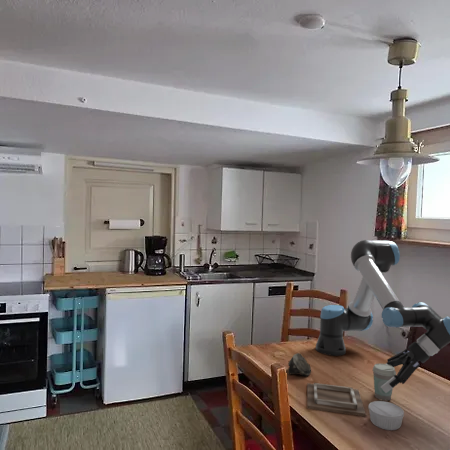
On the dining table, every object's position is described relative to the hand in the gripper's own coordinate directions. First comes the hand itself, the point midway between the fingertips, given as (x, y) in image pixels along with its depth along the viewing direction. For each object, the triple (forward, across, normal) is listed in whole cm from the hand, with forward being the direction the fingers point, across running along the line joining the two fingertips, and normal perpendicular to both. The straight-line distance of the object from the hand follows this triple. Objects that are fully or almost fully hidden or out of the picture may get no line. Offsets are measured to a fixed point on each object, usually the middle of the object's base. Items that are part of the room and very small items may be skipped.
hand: (379, 382), depth 154 cm
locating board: (+16, -8, +8) cm, 20 cm away
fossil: (+26, +14, +18) cm, 35 cm away
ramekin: (+5, -21, -3) cm, 22 cm away
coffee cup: (+3, 0, -5) cm, 6 cm away
